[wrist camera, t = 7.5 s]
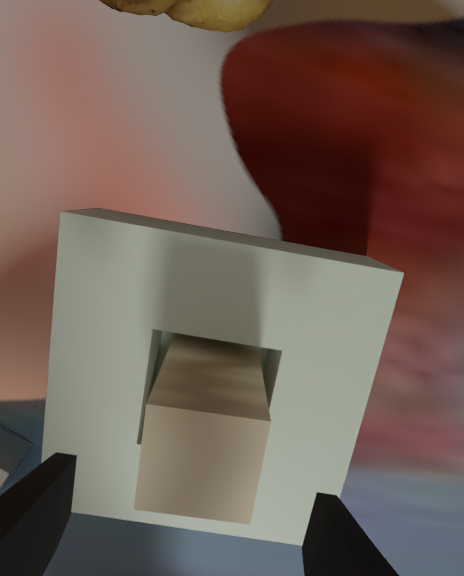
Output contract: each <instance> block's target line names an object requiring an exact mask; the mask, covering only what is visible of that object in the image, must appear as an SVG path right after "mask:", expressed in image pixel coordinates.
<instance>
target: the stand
mask: <svg viewBox="0 0 464 576" xmlns="http://www.w3.org/2000/svg"><path fill="white" fill-rule="evenodd" d="M32 445H33V444H32V443H30V442H29V441H27V440H25V439H23V438H22V437H20V436H18V435H16V434H15V433H13V432H11V431H9V430H8V429H6V428H4V427H2V426H0V493H1V491H2V490H3V488H4V487H5V485H6V484H7V482H8V481H9V479H10V478H11V476H12V475H13V473H14V472H15V470H16V469H17V467H18V466H19V464H20V463H21V461H22V460H23V458H24V457H25V455H26V454H27V452H28V451H29V449H30V448H31V446H32Z"/></svg>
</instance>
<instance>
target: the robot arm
mask: <svg viewBox="0 0 464 576" xmlns="http://www.w3.org/2000/svg"><path fill="white" fill-rule="evenodd" d="M76 461H77V455H72V454H65V453H59V452H56V453H54V454H53V455H51V456H50V457H49V458H48V459H46V460H45V461H44V462H42V463H41V464H40V465H39V466H37V467H36V468H35V469H34V470H32V471H31V472H30V473H29V474H27V475H26V476H25V477H24V478H22V479H21V480H20V481H18V482H17V483H16V484H15V485H13V486H12V487H11V488H9V489H8V490H7V491H5V492H4V493H3V494H1V495H0V576H42V575H43V574H44V572H45V570H46V568H47V566H48V564H49V562H50V560H51V559H52V557H53V555H54V553H55V551H56V549H57V546H58V544H59V542H60V539H61V537H62V535H63V532H64V530H65V527H66V525H67V522H68V520H69V517H70V515H71V509H72V500H73V490H74V480H75V471H76ZM302 554H303V564H304V573H305V576H399V575H398V574H397V573H396V571H395V570H394V569H393V568H392V566H391V565H390V564H389V563H388V562H387V560H386V559H385V558H384V557H383V555H382V554H381V553H380V552H379V550H378V549H377V548H376V546H375V545H374V544H373V543H372V541H371V540H370V539H369V537H368V536H367V535H366V534H365V532H364V531H363V530H362V528H361V527H360V526H359V524H358V523H357V522H356V520H355V519H354V518H353V516H352V515H351V513H350V512H349V511H348V509H347V508H346V507H345V505H344V504H343V503H342V501H341V500H340V499H339V498H338V496H337V495H332V494H326V493H319V492H317V493H316V497H315V501H314V504H313V508H312V512H311V515H310V519H309V523H308V526H307V530H306V534H305V537H304V541H303V545H302Z"/></svg>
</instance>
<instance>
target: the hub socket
mask: <svg viewBox="0 0 464 576" xmlns="http://www.w3.org/2000/svg"><path fill="white" fill-rule="evenodd" d="M403 275H404V273H403V272H401V271H399V270H396V269H394V268H392V267H390V266H387V265H385V264H383V263H381V262H378V261H376V260H374V259H372V258H369V257H367V256H362V255H357V254H351V253H346V252H340V251H334V250H329V249H323V248H318V247H312V246H307V245H301V244H296V243H290V242H285V241H279V240H273V239H267V238H262V237H256V236H251V235H246V234H240V233H235V232H229V231H223V230H218V229H212V228H206V227H201V226H195V225H190V224H185V223H179V222H173V221H168V220H162V219H157V218H151V217H145V216H140V215H135V214H129V213H124V212H118V211H112V210H106V209H101V208H93V209H82V210H70V211H61V212H60V224H59V236H58V249H57V262H56V276H55V288H54V301H53V302H54V303H53V315H52V327H51V340H50V354H49V367H48V381H47V394H46V406H45V419H44V432H43V445H42V458H41V463H42V462H44V461H45V460H46V459H48V458H49V457H50V456H51V455H53V454H54V453H56V452H59V453H65V454H72V455H77V461H76V471H75V480H74V490H73V500H72V509H71V512H74V513H81V514H88V515H95V516H102V517H109V518H115V519H122V520H129V521H136V522H143V523H150V524H157V525H164V526H171V527H178V528H184V529H191V530H198V531H205V532H212V533H219V534H226V535H233V536H240V537H247V538H253V539H260V540H267V541H274V542H281V543H288V544H295V545H303V541H304V537H305V534H306V530H307V526H308V523H309V519H310V515H311V512H312V508H313V504H314V501H315V497H316V493H317V492H319V493H326V494H332V495H337V496H338V498H340V495H341V492H342V488H343V485H344V481H345V478H346V474H347V471H348V467H349V464H350V460H351V457H352V453H353V450H354V446H355V443H356V439H357V436H358V432H359V429H360V425H361V422H362V418H363V415H364V411H365V408H366V404H367V401H368V397H369V394H370V390H371V387H372V383H373V380H374V376H375V373H376V369H377V366H378V362H379V359H380V355H381V352H382V348H383V345H384V341H385V338H386V334H387V331H388V327H389V324H390V320H391V317H392V313H393V310H394V307H395V303H396V300H397V296H398V293H399V289H400V286H401V282H402V279H403ZM175 333H179V334H185V335H191V336H197V337H203V338H209V339H215V340H221V341H227V342H233V343H239V344H245V345H251V346H257V347H258V352H259V357H260V363H261V368H262V374H263V379H264V385H265V390H266V396H267V402H268V407H269V413H270V418H271V424H270V429H269V434H268V439H267V444H266V449H265V454H264V459H263V464H262V469H261V474H260V479H259V483H258V488H257V493H256V498H255V503H254V508H253V513H252V518H251V523H250V525H249V524H241V523H233V522H226V521H218V520H210V519H202V518H195V517H187V516H179V515H171V514H164V513H156V512H148V511H141V510H134V502H135V493H136V485H137V477H138V468H139V460H140V452H141V443H142V435H143V426H144V418H145V410H146V403H147V401H148V398H149V396H150V393H151V391H152V388H153V386H154V383H155V381H156V378H157V376H158V374H159V371H160V369H161V366H162V364H163V361H164V359H165V356H166V354H167V351H168V349H169V346H170V344H171V341H172V339H173V336H174V334H175Z"/></svg>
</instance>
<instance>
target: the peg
mask: <svg viewBox="0 0 464 576" xmlns="http://www.w3.org/2000/svg"><path fill="white" fill-rule="evenodd" d="M270 424H271V418H270V413H269V407H268V402H267V396H266V390H265V385H264V379H263V374H262V368H261V363H260V357H259V352H258V347H257V346H251V345H245V344H239V343H233V342H227V341H221V340H215V339H209V338H203V337H197V336H191V335H185V334H179V333H175V334H174V336H173V339H172V341H171V344H170V346H169V349H168V351H167V354H166V356H165V359H164V361H163V364H162V366H161V369H160V371H159V374H158V376H157V378H156V381H155V383H154V386H153V388H152V391H151V393H150V396H149V398H148V401H147V403H146V410H145V418H144V426H143V435H142V443H141V452H140V460H139V468H138V477H137V485H136V493H135V502H134V510H141V511H148V512H156V513H164V514H171V515H179V516H187V517H195V518H202V519H210V520H218V521H226V522H233V523H241V524H249V525H250V523H251V518H252V513H253V508H254V503H255V498H256V493H257V488H258V483H259V479H260V474H261V469H262V464H263V459H264V454H265V449H266V444H267V439H268V434H269V429H270Z"/></svg>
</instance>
